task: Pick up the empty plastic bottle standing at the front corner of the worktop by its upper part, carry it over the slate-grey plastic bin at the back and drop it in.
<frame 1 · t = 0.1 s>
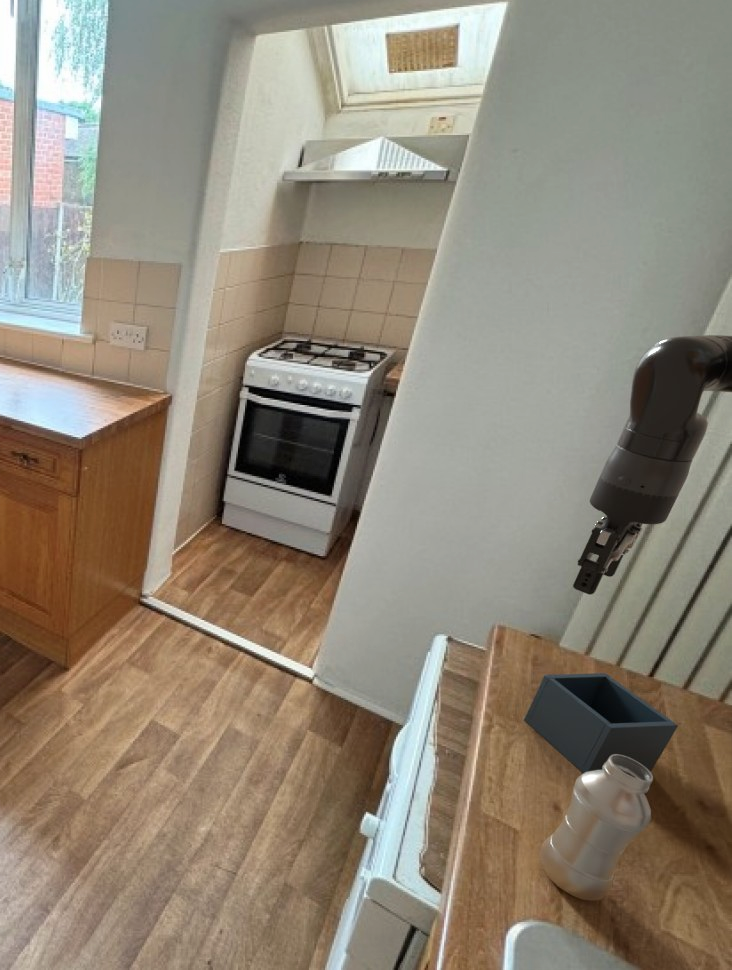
hand: (593, 582, 87), 30 cm above the countertop, tool pointing down, fingers open, 8 cm apart
bin: (584, 745, 96), on the countertop
plastic bottle: (566, 881, 77), on the countertop
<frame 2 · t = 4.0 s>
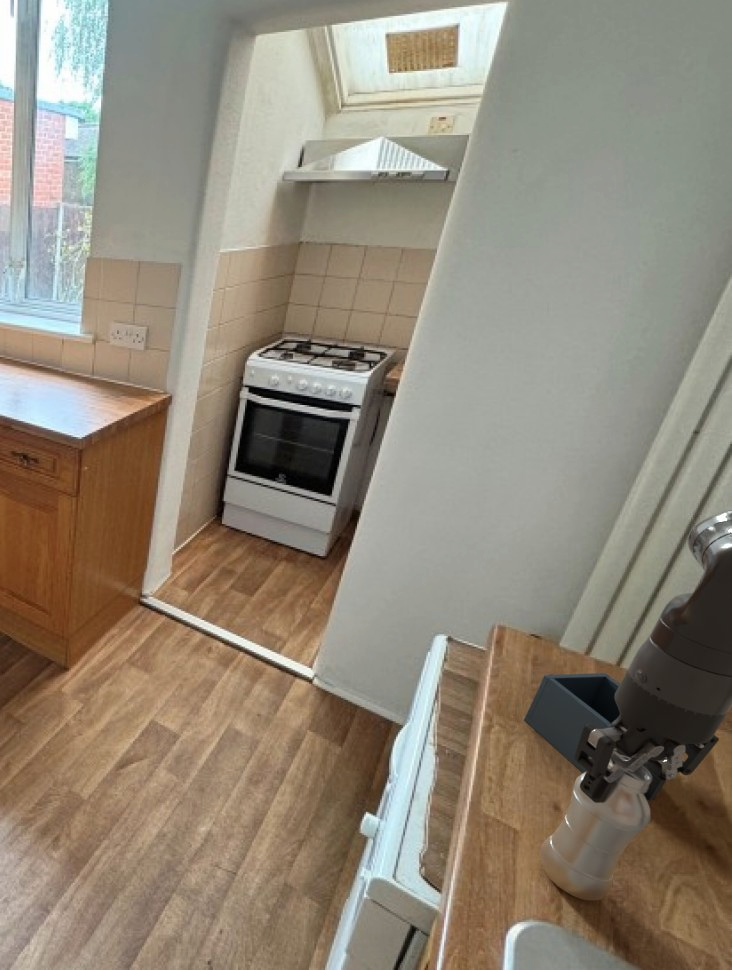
hand: (615, 794, 71), 16 cm above the countertop, tool pointing down, fingers closed on plastic bottle, 5 cm apart
plastic bottle: (566, 881, 77), on the countertop, touching gripper
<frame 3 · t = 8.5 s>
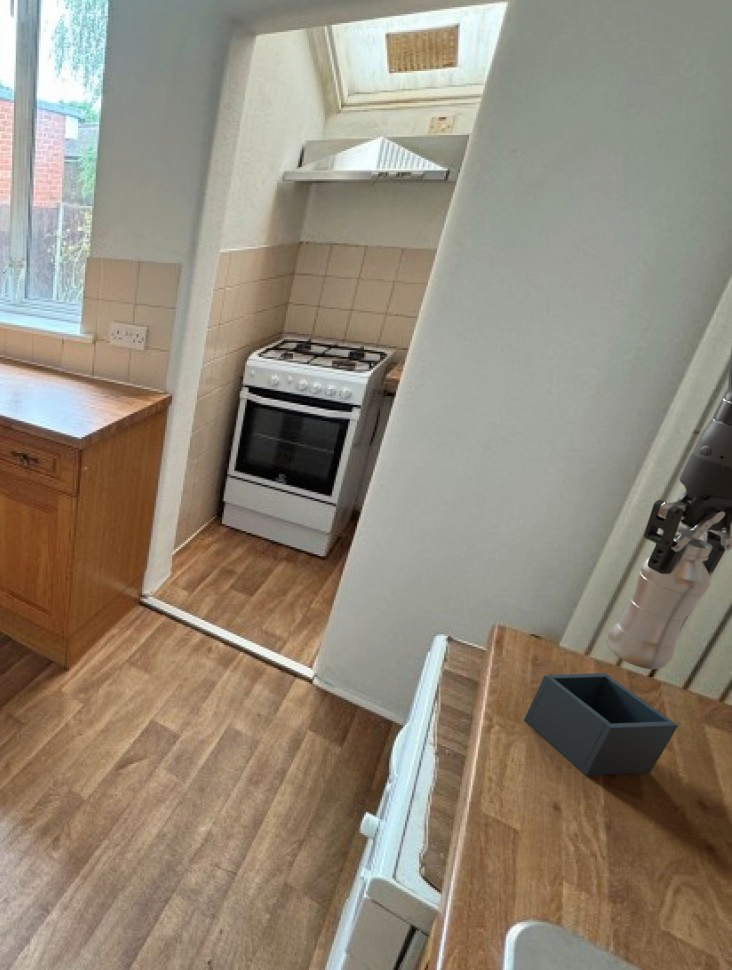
hand: (679, 569, 82), 35 cm above the countertop, tool pointing down, fingers closed on plastic bottle, 5 cm apart
plastic bottle: (631, 660, 88), point 19 cm above the countertop, touching gripper
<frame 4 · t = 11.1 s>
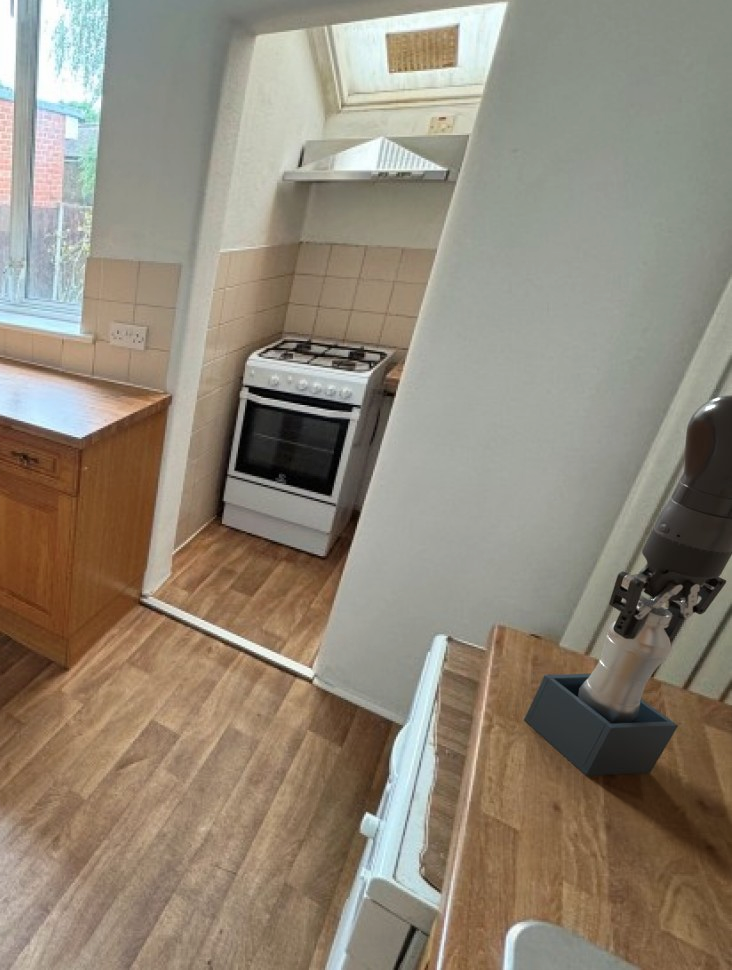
hand: (642, 634, 88), 22 cm above the countertop, tool pointing down, fingers closed on plastic bottle, 5 cm apart
plastic bottle: (600, 715, 94), point 7 cm above the countertop, touching gripper
when the fingers open (16 cm above the countertop, at t = 13.1 s): plastic bottle stays where it is, resting on bin.
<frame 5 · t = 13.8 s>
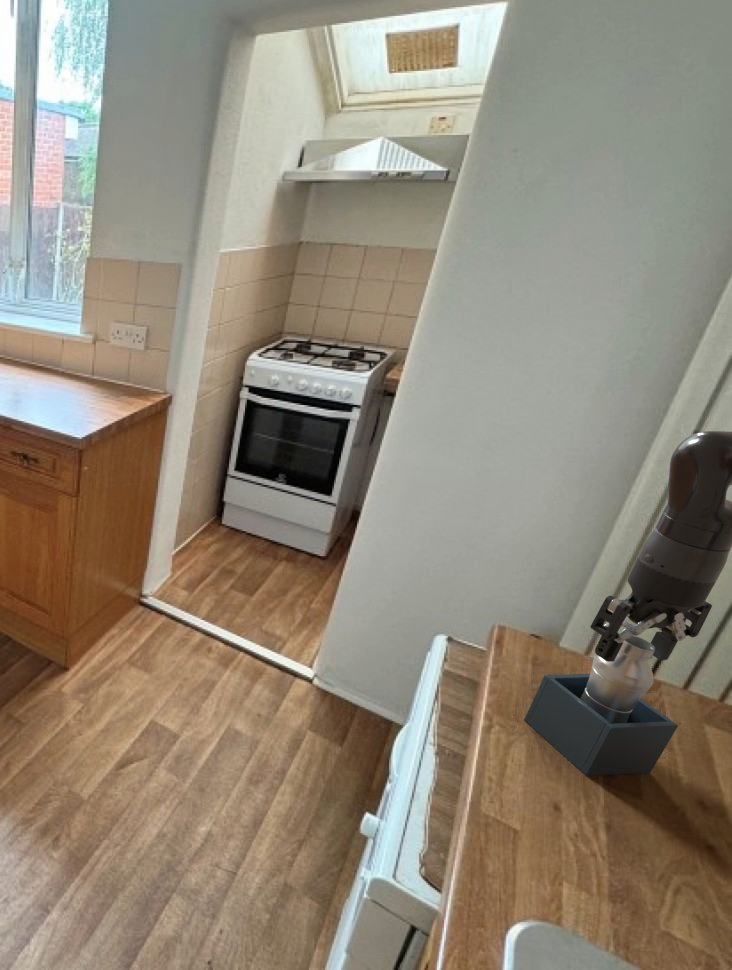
hand: (630, 657, 90), 18 cm above the countertop, tool pointing down, fingers open, 8 cm apart
plastic bottle: (585, 743, 96), point 1 cm above the countertop, touching bin
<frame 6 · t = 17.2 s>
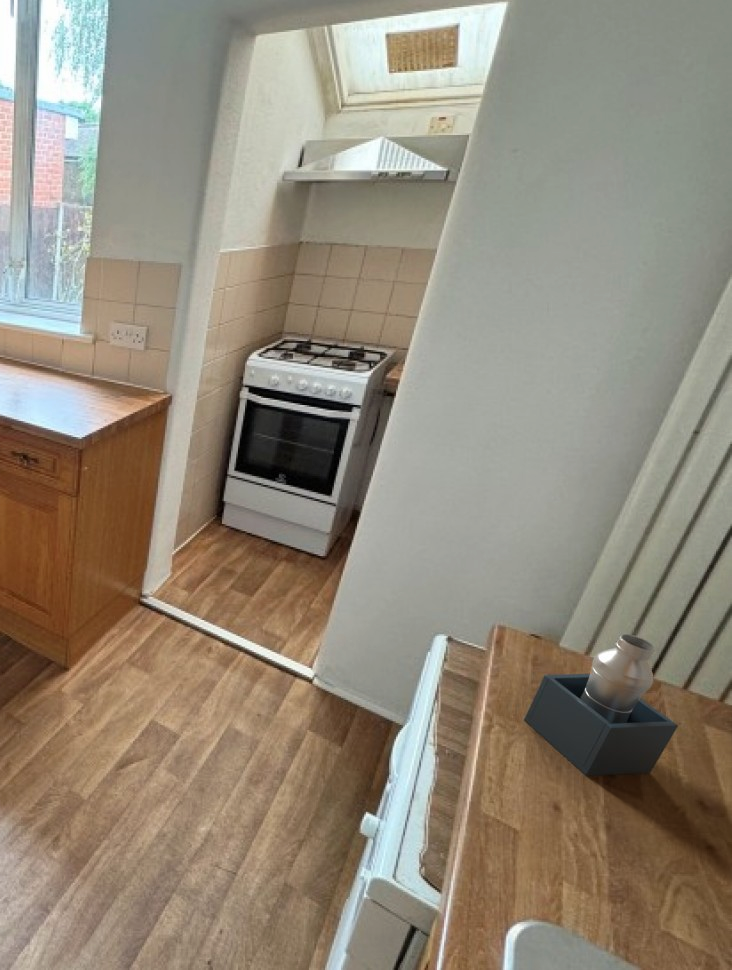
nothing on the countertop moved.
at the end: plastic bottle inside the target area in the bin (0.1 cm from its centre), point 0.6 cm above the bin's base; the gripper is holding nothing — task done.
